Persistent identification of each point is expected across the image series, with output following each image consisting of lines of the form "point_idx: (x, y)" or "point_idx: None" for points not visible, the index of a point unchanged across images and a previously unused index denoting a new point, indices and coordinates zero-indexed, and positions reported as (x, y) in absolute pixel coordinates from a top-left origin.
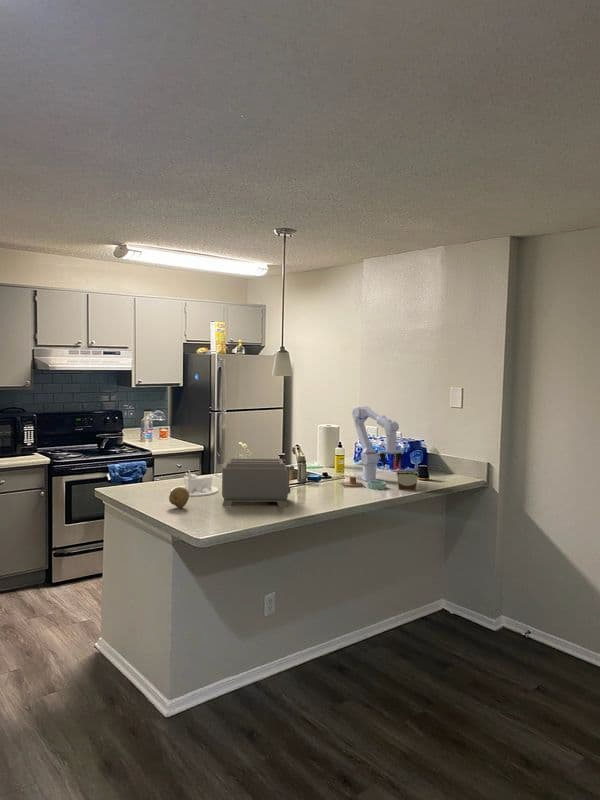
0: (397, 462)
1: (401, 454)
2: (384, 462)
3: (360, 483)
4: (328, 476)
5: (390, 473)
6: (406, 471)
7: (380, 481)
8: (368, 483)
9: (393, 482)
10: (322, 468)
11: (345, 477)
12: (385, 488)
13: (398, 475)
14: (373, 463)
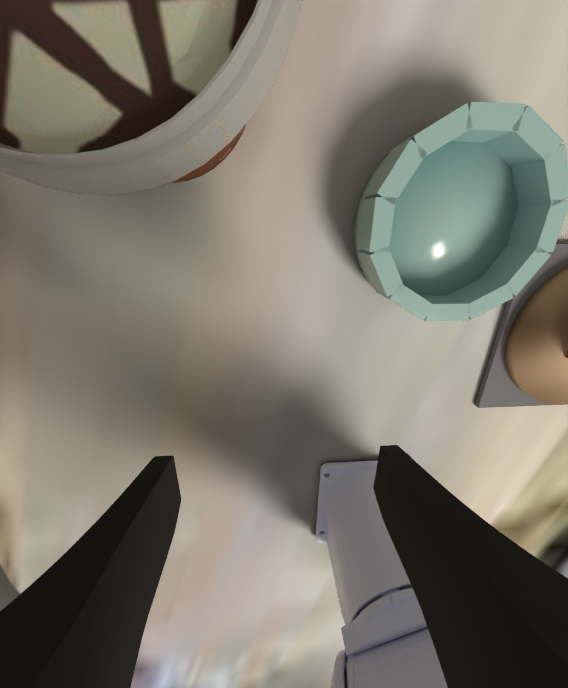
0: (133, 517)
1: None
2: (438, 501)
3: (538, 329)
4: (545, 563)
5: (173, 633)
6: (17, 148)
7: (402, 285)
8: (557, 216)
9: (216, 424)
10: None
11: None
12: (375, 170)
13: None
14: (400, 631)
